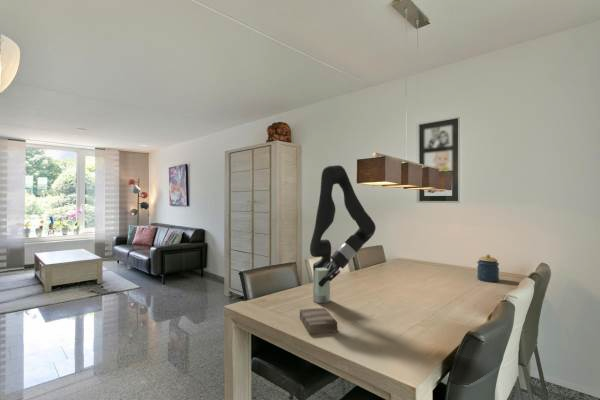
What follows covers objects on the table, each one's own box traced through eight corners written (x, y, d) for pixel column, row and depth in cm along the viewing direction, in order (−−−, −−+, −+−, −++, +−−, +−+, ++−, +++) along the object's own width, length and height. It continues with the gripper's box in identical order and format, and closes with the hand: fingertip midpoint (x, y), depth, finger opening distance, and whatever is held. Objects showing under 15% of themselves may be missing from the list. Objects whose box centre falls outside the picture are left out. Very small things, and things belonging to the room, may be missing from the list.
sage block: (315, 292, 138) (315, 268, 138) (325, 291, 139) (325, 267, 139) (318, 296, 133) (318, 270, 133) (329, 295, 135) (329, 270, 135)
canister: (479, 281, 208) (479, 255, 209) (475, 277, 221) (475, 252, 221) (501, 283, 205) (501, 256, 205) (495, 278, 217) (495, 253, 217)
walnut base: (299, 318, 143) (299, 309, 143) (324, 316, 146) (324, 307, 146) (309, 334, 125) (309, 324, 125) (337, 331, 128) (337, 322, 128)
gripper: (332, 247, 145) (307, 274, 142) (343, 252, 131) (316, 282, 128) (343, 258, 146) (318, 285, 144) (355, 264, 132) (328, 294, 130)
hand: (318, 283), depth 136 cm, fingers closed on sage block, 5 cm apart
